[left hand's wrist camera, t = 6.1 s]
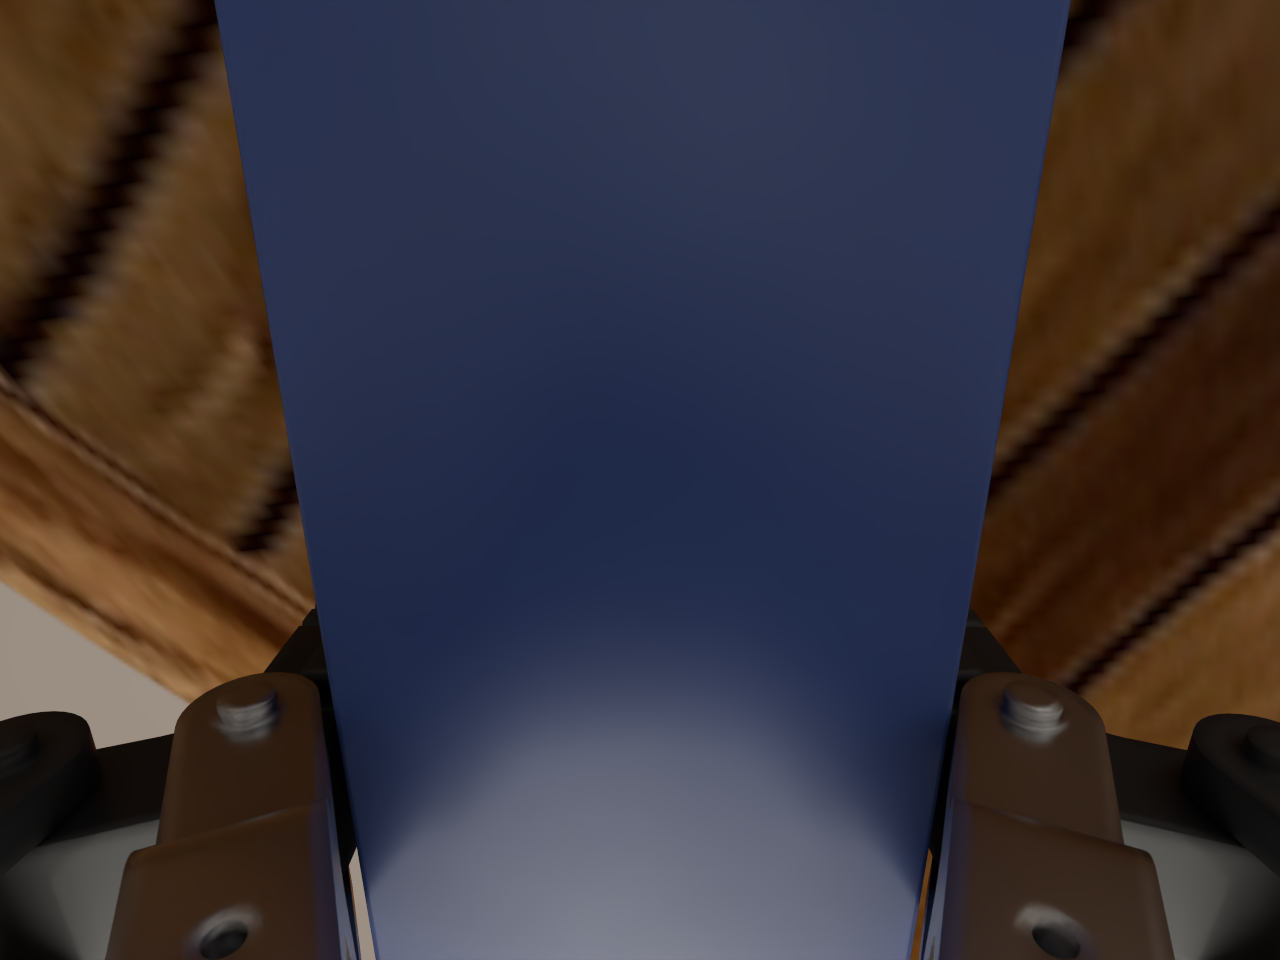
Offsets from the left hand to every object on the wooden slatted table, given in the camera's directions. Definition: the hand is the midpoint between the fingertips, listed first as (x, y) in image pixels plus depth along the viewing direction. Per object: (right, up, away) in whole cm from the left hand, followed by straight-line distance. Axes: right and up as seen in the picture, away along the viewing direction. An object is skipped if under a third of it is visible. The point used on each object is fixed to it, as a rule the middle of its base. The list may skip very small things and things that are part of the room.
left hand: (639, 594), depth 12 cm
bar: (0, +11, +1) cm, 11 cm away
